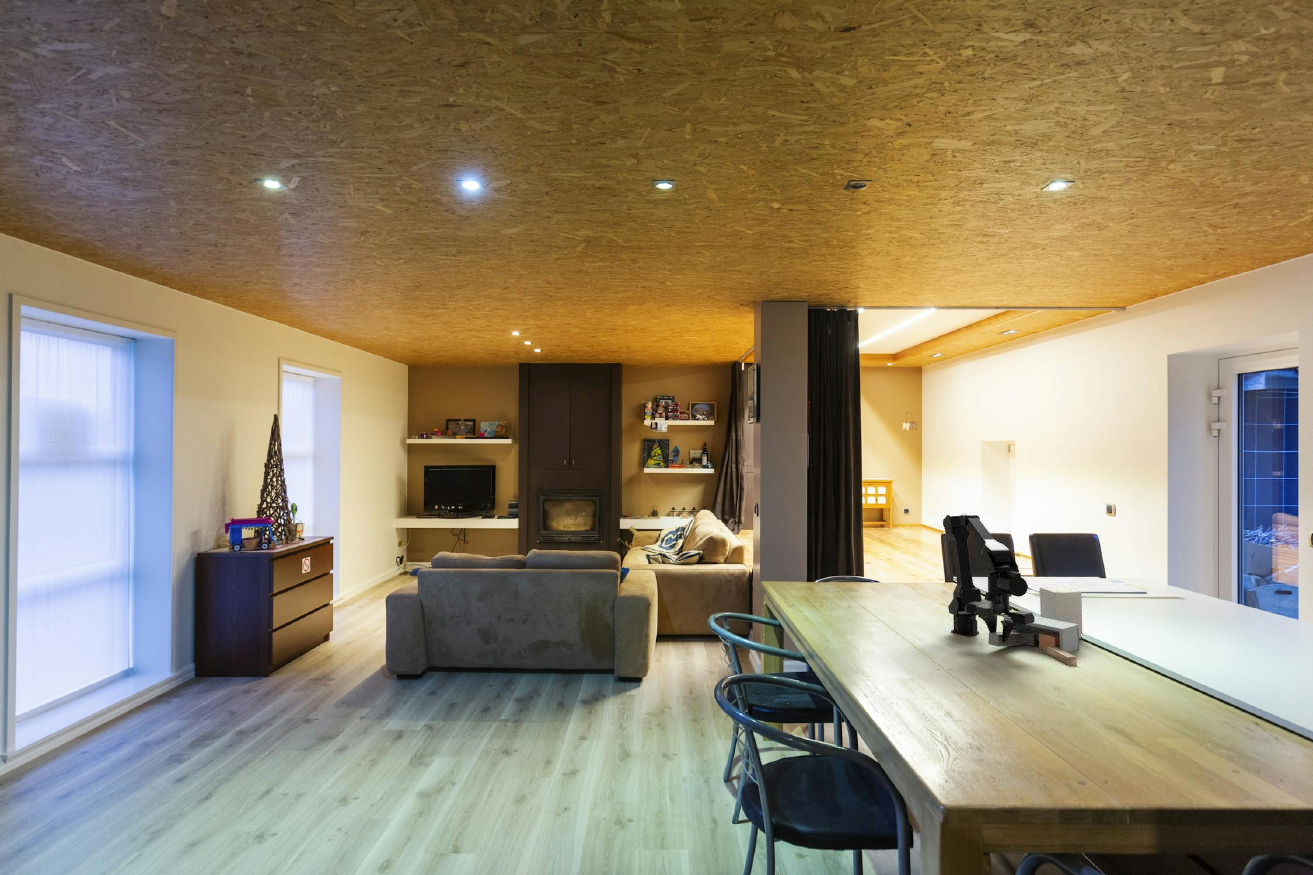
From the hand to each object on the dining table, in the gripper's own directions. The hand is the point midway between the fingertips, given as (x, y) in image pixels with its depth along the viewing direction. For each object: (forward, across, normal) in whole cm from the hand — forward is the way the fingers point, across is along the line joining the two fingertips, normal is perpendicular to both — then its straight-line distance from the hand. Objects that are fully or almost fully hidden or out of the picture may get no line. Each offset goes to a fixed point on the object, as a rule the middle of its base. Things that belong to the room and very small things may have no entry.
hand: (999, 640), depth 200 cm
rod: (+3, +15, +7) cm, 16 cm away
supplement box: (+3, +1, +34) cm, 34 cm away
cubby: (+3, +4, +17) cm, 17 cm away
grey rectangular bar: (+2, 0, +5) cm, 6 cm away
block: (+3, +8, +15) cm, 17 cm away
